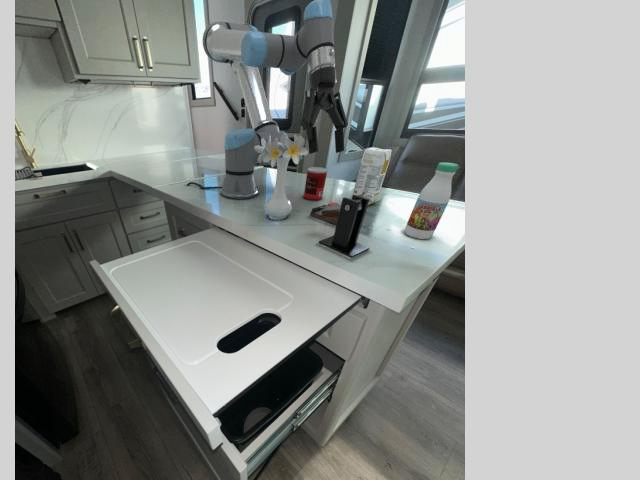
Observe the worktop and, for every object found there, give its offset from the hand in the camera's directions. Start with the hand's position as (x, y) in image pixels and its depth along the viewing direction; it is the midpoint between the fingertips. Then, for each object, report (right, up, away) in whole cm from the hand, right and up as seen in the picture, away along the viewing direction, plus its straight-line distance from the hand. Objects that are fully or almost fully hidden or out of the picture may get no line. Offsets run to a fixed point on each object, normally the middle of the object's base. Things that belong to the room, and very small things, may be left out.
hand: (327, 152), depth 84 cm
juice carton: (+22, -8, +23) cm, 33 cm away
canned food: (+3, -4, +28) cm, 28 cm away
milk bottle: (+28, -27, -1) cm, 38 cm away
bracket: (+1, -32, -9) cm, 33 cm away
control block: (+4, -19, +8) cm, 21 cm away
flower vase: (-15, -18, +10) cm, 25 cm away
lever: (-1, -23, -12) cm, 26 cm away
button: (+4, -16, +6) cm, 18 cm away
